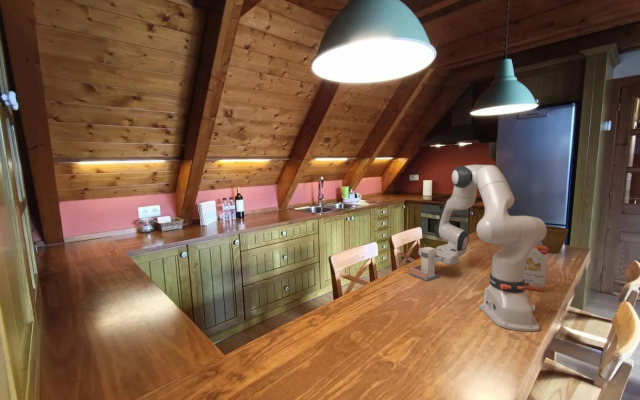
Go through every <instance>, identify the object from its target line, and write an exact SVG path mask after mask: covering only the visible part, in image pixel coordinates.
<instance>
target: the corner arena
mask: <svg viewBox="0 0 640 400" xmlns="http://www.w3.org/2000/svg"><path fill="white" fill-rule="evenodd" d="M408 275H410V276H412V277H414V278H416V279H420V280H421V281H424V282H429V281H432V280H434V279H438V278H440V275H439V274H438V273H435V275H432V276H428V273H425V272H422V271H421V263H419V264H416V265H413V266H412V265H411V266H409V267H408Z"/></svg>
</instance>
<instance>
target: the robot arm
mask: <svg viewBox="0 0 640 400" xmlns="http://www.w3.org/2000/svg"><path fill="white" fill-rule="evenodd" d="M451 182H452V184H453V188H452V189H453V190H452V194H451V196H450V197H448V198H447V199H446V200H445V202H444V204H443V206H442V209H441V212H440V215H439V218H438V221H437V223H436V225H435V227H434V234H435V237H437V238H438V239H441V240H443V241H446V242H447V243H445V244H442V245H438V246H437V247H436V248H435V249H436V253H435V257H434V258H432V261H434V262H435V263H436V262H440V263H444V264H447V265H455V264H458V262H459V258H460V257H462V256H464V255H465V254H466V252H467V247H468V245H469V242H470V237H469V234H468V232H467V231H466V230H464V229H463V228H460V227H457V226H455V225H453V224H451V223H450V219H451V216H452V214H453V211H465V210H467V209H470V208H471V207H473V206H474V205H475V202H476V199H477V193H478V192H479V195H480V196H481V199H482V203H483V207H484V215H483V216H482V218H481V219H480V220H479V221H478V223H477V224H476V229H475V230H476V235H477V237H478V239H480V241H482V242H483V243H487V244H491V245H503V247H502V248H501V249H500V250H499V251H496V253H495V252H494V254H493V256H492V258H491V260H492V261H491V273H490V274H489V277H488V278H489V285H488V286H486V287H485V289H484V296H483V303H479V306H478V308H480V310H481V311H482V312H483V313H484V314H485V315H486V316H487V317H488V318H490V320H492V322H493V323H495V325H496V326H498V327H501V328H505V329H508V330H514V331H520V332H521V331H523V332H537V331H540V330H541V328H540V325H539V324H538V321H537V318H536V317H535V315H534V314H533V312H535V311H536V306H535V304H531V303H530V301H531V297H528V294H527V293H526V290H527V289H525V280H524V271H525V264H526V260H527V257H528V255H529V253H530V252H531V250H532V249H533V247H534V246H535V245H537V244H538V243H540V242H542V241H541V240H543V239H544V238H545V236H546V232H547V229H546V226H547V225H546V223H545V222H544V221H543V220H542V219H541V218H539V217H536V216H530V215H510V214H509V212H508V209H511V208H512V206H513V205H514V203H515V197H514V194H513V192H512V190H511V187H510V185H509V183H508V180H507V179H506V178H505V176H504V174H503V170H502V168H501V166H499V165H497V164H469V165H460V166H457V167H455V168H454V169H453V170H452V172H451ZM425 247H426V246H425ZM425 247H419V248H418V256H419V257H420V258H421V253H422V248H425Z"/></svg>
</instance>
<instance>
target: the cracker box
mask: <svg viewBox="0 0 640 400" xmlns="http://www.w3.org/2000/svg"><path fill="white" fill-rule="evenodd" d="M548 251H549V249H548V248H547V247H546V246H543V245H540V244H539V245H537V244H536V245H535V246H534V247H533V249H532V250H531V252H530V253H529V255H528V257H527V260H526V264H525V271H524V280H525V289H526V290H528V291H529V290H530V291H536V292H541V293H544V292H545V287H546V275H547V269H548V261H549V260H548V259H549V253H548Z"/></svg>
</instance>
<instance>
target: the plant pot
mask: <svg viewBox="0 0 640 400" xmlns="http://www.w3.org/2000/svg"><path fill="white" fill-rule="evenodd" d="M546 229H547V232H546V236H545V238H544V239H543V240H541V241H540V242H541V244H542V245H541V246H546V247H547V248H548V249H549V251H548V254H559V253H560V252H561V250H562V248H563V246H564V244H565V242H566V239H567V236H568V233H569V229H567V228H565V227H560V226H551V225H546Z"/></svg>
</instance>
